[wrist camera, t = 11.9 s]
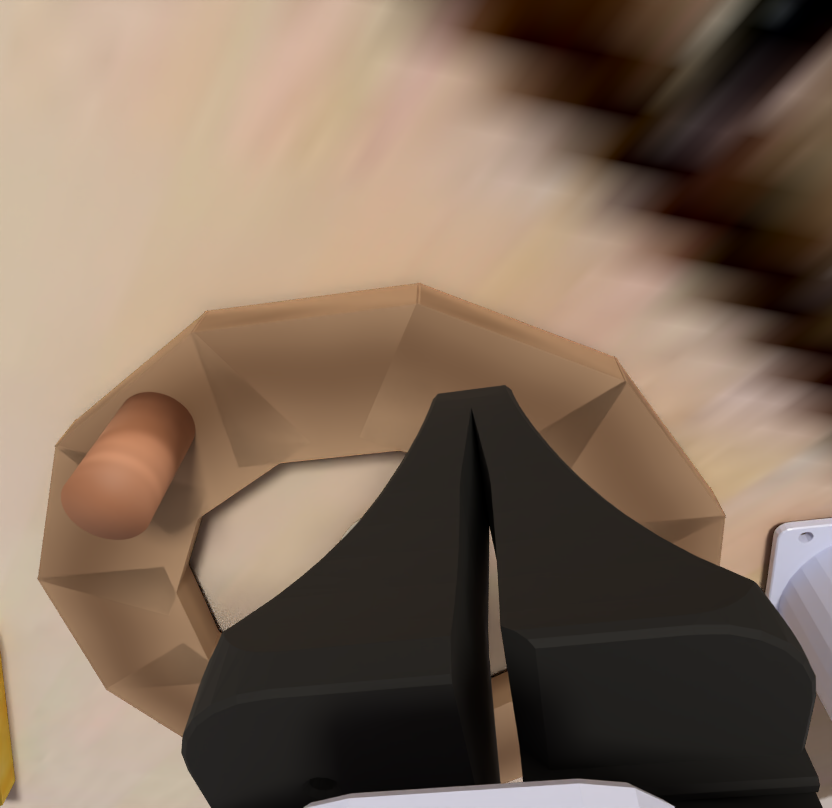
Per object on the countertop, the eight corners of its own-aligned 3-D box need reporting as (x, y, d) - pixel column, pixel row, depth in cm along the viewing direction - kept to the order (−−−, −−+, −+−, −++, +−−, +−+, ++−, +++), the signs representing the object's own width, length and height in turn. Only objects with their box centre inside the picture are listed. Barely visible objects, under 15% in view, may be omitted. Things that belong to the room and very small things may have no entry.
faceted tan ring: (440, 114, 18) (440, 165, 14) (811, 626, 28) (885, 755, 24) (-67, 538, 27) (-172, 656, 22) (354, 813, 37) (342, 934, 32)
